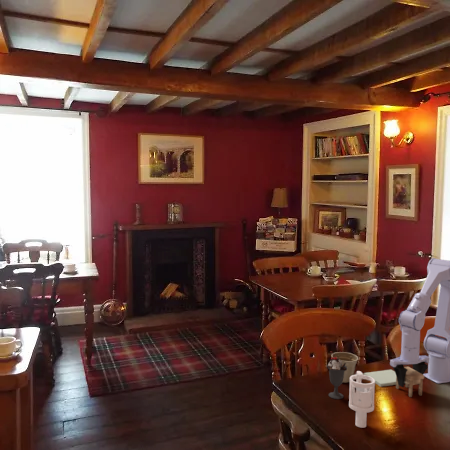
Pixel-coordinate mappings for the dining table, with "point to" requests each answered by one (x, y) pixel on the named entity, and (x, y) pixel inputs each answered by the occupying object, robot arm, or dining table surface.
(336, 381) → the sundae
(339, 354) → the flower pot
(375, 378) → the board
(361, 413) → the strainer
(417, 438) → the dining table surface
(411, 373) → the stool
